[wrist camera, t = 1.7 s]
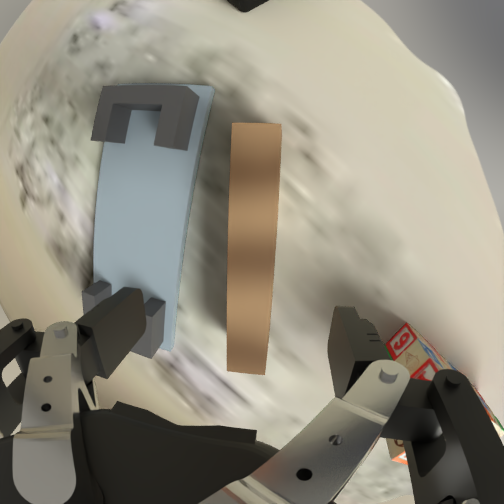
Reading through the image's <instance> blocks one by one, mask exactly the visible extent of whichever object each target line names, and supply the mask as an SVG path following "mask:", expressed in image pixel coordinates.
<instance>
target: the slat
mask: <svg viewBox="0 0 504 504" xmlns="http://www.w3.org/2000/svg"><path fill="white" fill-rule="evenodd" d="M281 141H282V129H281V124H273V123H232V134H231V156H230V182H229V213H228V255H227V371H231V372H239V373H248V374H259V375H265V369H266V360H267V351H268V342H269V330H270V318H271V306H272V293H273V280H274V266H275V251H276V236H277V220H278V202H279V184H280V164H281Z"/></svg>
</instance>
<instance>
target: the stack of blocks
mask: <svg viewBox="0 0 504 504" xmlns="http://www.w3.org/2000/svg"><path fill="white" fill-rule="evenodd" d="M384 347H385V349H386V351H387V353H388V355H389V357H390V359H391V360H392V361H395V362H398V363H400V364H402V365H403V366H404V367H405V368H406V369H407V370H408V371H409V374H410V378H414V379H420V380H427V381H432V379H433V377H434V375H435V373H436V372H437V371H439V370H442V369H452V370H456V369H455V368H454V367H453V366H452V365H451V364H450V363H449V362H447V361H446V360H445V359H444V358H443V357H442V356H441V355H440V354H439V353H438V352H437V351H436V350H435V348H433V346H431V345H430V344H429V343H428V342H427V341H426V340H425V339H424V338H423V337H422V336H421V335H420V334H419V333H418V332H417V331H416V330H415V329H414V328H413V327H412V326H411V325H410V324H408V323H406V324H405V325H404V326H403V327H402V328H401V329H400V330H399V331H398V332H397V333H396V334H395V335H394V336H393V337H392V338H391V339H390V340H389V341H388V342H387V343H386V345H385V346H384ZM456 371H458V370H456ZM458 372H459V371H458ZM472 387H473V386H472ZM473 389H474V390H475V392H476V394H477V395H478V397H479V399H480V401H481V403H482V404H483V406H484V408H485V410H486V412H487V414H488V415H489V417H490V419H491V421H492V423H493V425H494V427H495V429H496V431H497V433H498V435H499V437H501V436H502V435H503V434H504V428H503V427H502V425H501V424H500V422H499V420H498V419H497V418H496V417H495V416H494V414H493V412H492V411H491V409H490V408H489V406H488V405H487V404H486V403H485V401H484V399H483V398H482V396H481V395H480V394H479V392H478V391H477V390H476V389H475V388H474V387H473ZM443 436H444V435H443ZM386 441H387V445H388V449H389V454H390V458H391V460H393V461H396V462H400V463H403V464H406V465H408V463H407V458H406V453H405V449H404V445H403V441H402V440H396V439H389V438H386Z"/></svg>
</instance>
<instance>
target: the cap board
mask: <svg viewBox="0 0 504 504" xmlns="http://www.w3.org/2000/svg"><path fill="white" fill-rule="evenodd" d="M214 92H215V89H214V88H213V87H212V86H203V85H189V84H166V83H132V84H118V85H117V86H103V88H102V92H101V96H100V100H99V104H98V108H97V112H96V117H95V121H94V126H93V131H92V137H91V140H92V141H101V142H104V148H103V154H102V160H101V167H100V174H99V182H98V190H97V200H96V212H95V227H94V259H93V272H94V284H93V285H91V286H90V287H88V288H87V289H85V290H84V291H82V301H83V313H84V315H85V314H86V313H87V312H88V311H91V309H92V308H93V307H95V306H97V304H99V303H100V302H101V301H102V300H104V299H106V298H108V297H111V296H112V295H113V294H115V293H116V292H117V291H119V290H120V289H121V288H122V287H124V286H125V287H133V288H139V289H141V291H142V293H143V300H144V307H145V314H146V321H147V324H146V330H145V333H144V334H143V336H142V337H141V338H140V339H139V340H138V342H137V343H136V344H135V345H134V347H133V348H132V349H131V350H130V351H131V352H134V353H137V354H139V355H142V356H145V357H147V358H150V359H152V357H153V356H154V354H155V353H156V351H157V350H158V348H161V349H164V350H167V351H170V352H171V350H172V348H173V347H174V338H175V326H176V315H177V305H178V296H179V287H180V278H181V270H182V262H183V255H184V248H185V241H186V234H187V227H188V221H189V215H190V209H191V203H192V197H193V191H194V186H195V180H196V175H197V169H198V164H199V159H200V154H201V149H202V145H203V140H204V135H205V131H206V126H207V122H208V117H209V113H210V109H211V105H212V101H213V97H214Z"/></svg>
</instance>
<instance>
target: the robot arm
mask: <svg viewBox="0 0 504 504" xmlns="http://www.w3.org/2000/svg"><path fill="white" fill-rule="evenodd" d="M146 324H147V321H146V314H145V307H144V300H143V293H142V291H141V289H139V288H133V287H125V286H124V287H122V288H121V289H120V290H119V291H117V292H116V293H115V294H113V295H112V296H111V297H108V298H106V299H104V300H102V301H101V302H100V303H99V304H97V306H95V307H93V308H92V309H91V311H88V312H87V313H86V314H85V315H83V316H82V317H81V318H80V319H78V320H77V321H76V322H75V323H72V322H68V321H63V322H57V323H54V324H52V325H51V326H49V327H48V328H47V329H46V330H45V332H35V331H34V328H33V325H32V322H31V321H30V320H29V319H17V320H14V321H12V322H10V323H9V324H7V325H6V326H5V327H4V328H2V329H1V330H0V504H336V503H335V502H334V500H335V499H336V498H337V497H338V495H339V494H340V493H341V492H342V491H343V489H344V488H345V487H346V485H347V484H348V483H349V481H350V480H351V479H352V477H353V476H354V475H355V473H356V472H357V471H358V469H359V468H360V466H361V465H362V464H363V462H364V461H365V459H366V458H367V456H368V455H369V454H370V452H371V451H372V449H373V448H374V446H375V444H376V443H377V441H378V440H379V438H380V437H382V438H389V439H396V440H402V441H403V445H404V449H405V453H406V458H407V463H408V467H409V472H410V477H411V483H412V488H413V494H414V500H415V504H504V446H503V444H502V442H501V439H500V437H499V435H498V433H497V431H496V429H495V427H494V425H493V423H492V421H491V419H490V417H489V415H488V414H487V412H486V410H485V408H484V406H483V404H482V403H481V401H480V399H479V397H478V395H477V394H476V392H475V390H474V389H473V387H472V385H471V384H470V382H469V380H468V379H467V377H466V376H465V375H463V374H462V373H460V372H458V371H456V370H452V369H442V370H439V371H437V372H436V373H435V375H434V377H433V379H432V381H427V380H420V379H414V378H410V374H409V371H408V370H407V369H406V368H405V367H404V366H403V365H402V364H400V363H398V362H395V361H392V360H391V359H390V357H389V355H388V353H387V351H386V349H385V347H384V345H383V343H382V341H381V339H380V337H379V335H378V333H377V331H376V329H375V327H374V325H372V324H371V323H370V322H369V321H368V320H366V319H360V318H359V316H358V314H357V312H356V309H355V307H346V306H336V307H335V309H334V313H333V318H332V324H331V329H330V334H329V339H328V358H329V364H330V369H331V374H332V380H333V386H334V392H335V398H334V399H332V400H331V401H330V403H329V404H328V405H327V406H326V407H325V408H324V409H323V410H322V411H321V412H320V413H319V414H318V415H317V416H316V417H315V418H314V419H313V420H312V421H311V422H310V423H309V424H308V425H307V426H306V427H305V428H304V429H303V430H302V431H301V432H300V433H299V434H298V435H296V436H295V437H294V438H293V439H292V440H291V441H290V442H289V443H288V444H287V445H285V446H284V447H283V448H282V449H281V450H278V449H276V448H274V447H272V446H270V445H268V444H265V443H263V442H260V441H257V440H256V434H257V430H250V429H241V428H233V427H226V426H219V425H218V426H180V425H176V424H174V423H172V422H170V421H167V420H165V419H163V418H161V417H159V416H157V415H155V414H154V413H152V412H150V411H148V410H145V409H141V408H138V407H134V406H131V405H128V404H125V403H122V402H119V401H117V402H116V404H115V405H114V407H113V408H112V410H110V409H99V404H98V397H97V391H96V384H95V381H94V377H95V376H96V375H97V376H100V377H103V378H106V379H108V378H109V376H110V375H111V374H112V373H113V371H114V370H115V369H116V368H117V366H118V365H119V364H120V363H121V361H122V360H123V359H124V358H125V356H126V355H127V354H128V353H129V352H130V350H131V349H132V348H133V347H134V345H135V344H136V343H137V342H138V340H139V339H140V338H141V337H142V336H143V334H144V333H145V330H146ZM14 358H16V361H17V363H18V365H19V367H20V370H21V372H22V373H21V374H20V375H19V376H18V377H17V378H16V379H15V380H14V381H13V382H12V383H11V384H10V385H9V386H8V387H6V386H5V384H4V382H3V380H2V371H3V368H4V367H5V366H6V365H7V364H9V362H11V361H12V360H13V359H14ZM20 422H21V429H20V431H19V432H17V433H16V434H15V435H11V433H13V431H14V430H15V429H16V427H17V426H18V425H19V423H20ZM10 435H11V436H10ZM443 435H444V436H443Z"/></svg>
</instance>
